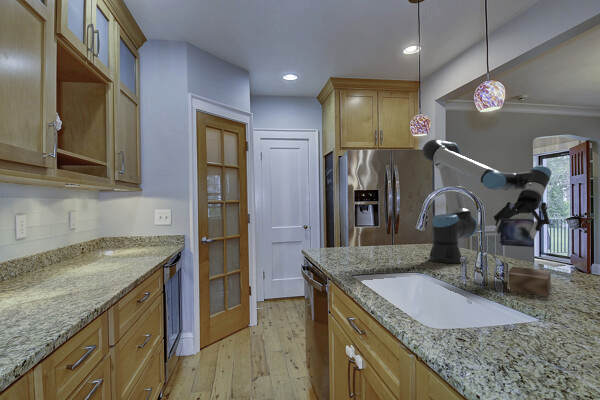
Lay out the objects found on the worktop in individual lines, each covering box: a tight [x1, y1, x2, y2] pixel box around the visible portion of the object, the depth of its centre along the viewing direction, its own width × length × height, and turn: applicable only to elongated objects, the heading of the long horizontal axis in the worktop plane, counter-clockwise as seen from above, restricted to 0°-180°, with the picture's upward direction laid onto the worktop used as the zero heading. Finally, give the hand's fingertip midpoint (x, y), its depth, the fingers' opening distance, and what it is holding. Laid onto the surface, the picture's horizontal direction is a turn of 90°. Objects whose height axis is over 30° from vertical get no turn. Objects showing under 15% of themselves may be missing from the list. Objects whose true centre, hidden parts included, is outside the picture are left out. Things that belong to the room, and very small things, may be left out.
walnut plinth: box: [508, 266, 552, 297], centre depth 106 cm, size 11×14×6 cm
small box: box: [499, 218, 535, 248], centre depth 121 cm, size 11×6×10 cm, turn 62°
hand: (513, 234), depth 120 cm, fingers closed on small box, 12 cm apart
